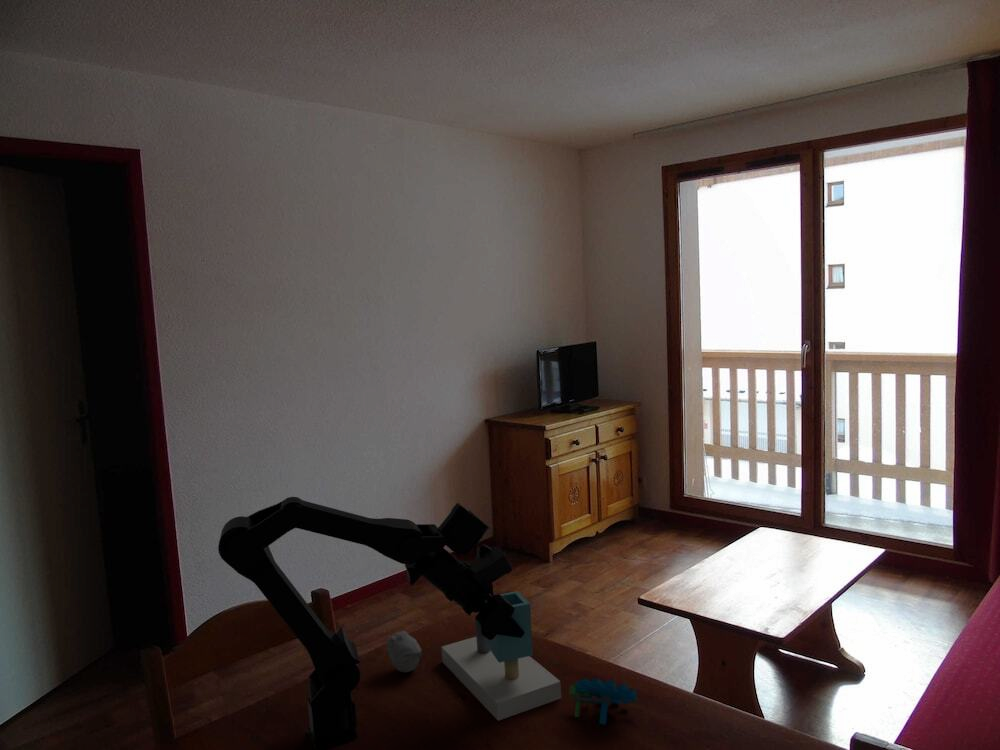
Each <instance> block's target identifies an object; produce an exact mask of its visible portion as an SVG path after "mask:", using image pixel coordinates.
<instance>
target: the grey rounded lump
mask: <svg viewBox="0 0 1000 750" xmlns="http://www.w3.org/2000/svg"><path fill="white" fill-rule="evenodd" d="M420 646H421V645H420V644H419V643H418V641H417V640H416V639H415V638H414V637H413V636H411V635H410V634H408V632H407V631H406V630H401V631H399V632H396V633H394V634H393V635H391V636H390V637H389V638H387V641H386V646H385V650H386V653H387V655H388V659H389V660H390V661H391V664H392V666H393V667H394V668H395V669H396V670H397V671H398V672H401V673H410V672H412V671H413V670H414V669H416V667H417V666H418V664H419V663H420V662H419V660H420V658H421V657H422V648H421V647H420Z"/></svg>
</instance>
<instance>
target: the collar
mask: <svg viewBox="0 0 1000 750" xmlns="http://www.w3.org/2000/svg"><path fill="white" fill-rule="evenodd" d="M500 595H501V596H503V597H504V598H505V599H507V600H508V602H509V603H510V604H511V605H512V606H513V607H514V608H515V609H514V613H513V614H512V615H511V617H512V618H513V619H514V620H515V621H516V623H517V624H518V625H519V626H520V627H521V629H522V630H523V631H524V632H525V634H524V635H523V636H522V637H521V638H518V637H511V636H504V635H496V636H495V637H494V639H492V640H489V639H488V648H489V649H490V650H491V652H492V653H493V655H494V656H495V658H496V659H497V661H498V662H499V663H500V662H505V661H509V660H514V659H518V658H523V657H528V656H530V657H531V656H534V655H533V654H534V653H533V635H532V633H533V632H532V616H531V615H532V614H531V613H532V612H531V604H530V602H529V601H528V600H527V598H525V597H524V596H523V594H522V593H520V592H519V591H518V590H516V591H510V592H506V593H501V594H500ZM486 601H487V600H486ZM487 602H488V601H487Z"/></svg>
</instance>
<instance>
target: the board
mask: <svg viewBox="0 0 1000 750" xmlns="http://www.w3.org/2000/svg"><path fill="white" fill-rule="evenodd" d="M441 658H442V659H441V661H442V663H443V664H444V665H445V667H447V668H448V669H449V671H450V672H451V673H452V674H454V676H455V677H456V678H457V679H458V680H459V681H460V683H462V685H464V686H465V688H467V690H469V692H470V693H471V694H472V695H473V696H474V697H475V698H476V699H477V701H479V702H480V703H481V704H482V705H483V707H484V708H485V709H486V710H487V711H488V712H489V713H490V714H491V715H492V716H493V717H494V718H495V719H496V720H497V721H498V722H499V721H501V720H504V719H508V718H510V717H512V716H515V715H518V714H521V713H524V712H527V711H530V710H533V709H535V708H539V707H541V706H543V705H546V704H549V703H553V702H555V701H557V700H561V699H562V687H561V681H560V680H559V679H558V678H557V677H556V676H555V675H553V674H552V673H551V672H549V671H548V670H547V669H546V668H545V667H544V666H542V665H541V664H540V663H539V662H537V661H536V660H535V659H534V658H532V657H531V656H528V657H523V658H518V659H514V660H509V661H505V662H500V663H499V662H498V661H497V659H496V658H495V656H494V655H493V653H492V652H491V650H490V649H489V648H488V639H487V638H486V637H485V636H483V635H482V634H481V633H480V631H479V630H478V628H477V627H476V626H475V636H473V637H469V638H466V639H463V640H460V641H457V642H452V643H448V644H445V645H443V646H441Z"/></svg>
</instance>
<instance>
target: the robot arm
mask: <svg viewBox="0 0 1000 750" xmlns="http://www.w3.org/2000/svg"><path fill="white" fill-rule="evenodd" d="M294 529H299V530H304V531H307V532H311V533H313V534H314V533H316V534H319V535H324V536H327V537H330V538H331V537H332V538H336V539H340V540H343V541H347V542H351V543H355V544H358V545H362V546H366V547H368V548H370V549H373V550H374V551H376V552H377V553H379V554H381V555H383V556H384V557H386V558H389V559H391V560H393V561H395V562H398V563H400V564H402V565H404V568H405V570H406V575H405V577H406V579H407V581H408V582H409V584H410V585H411V586H414V585H415V584H416V583H417V581H418V580H419V579H420V578H421V577H422V578H423V579H424V580H426V581H427V582H428V583H430V584H431V585H432V586H433V587H434V588H435V589H437V590H439V591H440V592H441V593H442V594H443V595H444V596H445V598H446V599H447V600H448V601H450V602H454V603H455V604H456V605H458V606H460V607H461V609H462V610H463V611H464V613H465V614H467V615H468V616H471V615H472V613H475V614H476V616H475V618H474V625H475V628H476V627H477V628H478V630H479V631H480V633H481V634H482V635H483V636H485V637H486V638H487V639H489V640H492V639H494V637H495V636H496V635H504V636H511V637H518V638H521V637H522V636H523V635H524V634H525V632H524V631H523V630H522V629H521V627H520V626H519V625H518V624H517V623H516V621H515V620H514V619H513V618H512V617H511V615H512V614H513V613H514V609H515V608H514V607H513V606H512V605H511V604H510V603H509V602H508V600H507V599H505V598H504V597H503V596H501V595H500V594H496V595H494V585H493V583H494V582H496V581H497V580H499V579H500V578H502V577H503V576H505V575H508V574H510V573H511V572H512V571H513V568H514V567H513V565H512V563H511V562H510V560H509V558H508V557H507V555H506V553H505V551H503V549H501V548H500V547H499V546H496V545H495V546H494V545H493V546H492V548H491V547H489V545H487V544H485V543H482V544H480V545H479V546H477V545H478V544H479V542H480V541H481V540H482V538H483V537H484V536H485V535H486V534H487V532H488V531H489V530H490V529H491V528H490V526H489V525H488V524H487V523H485V522H484V521H483V520H482V519H481V518H480V517H479V516H478V515H476V514H475V513H474V512H472V511H471V510H468V509H467V508H466V507H465V506H463V505H461V504H460V503H459V502H456V504H455V505H454V506H453V508H452V509H451V511H450V513H449V514H448V515H447V516H446V518H445V519H444V520H443V521H442V522H441V524H440V525H439V526H437V525H436V524H435V523H432V524H431V523H428V524H427V523H425V524H421V523H420V524H419V523H418V524H417V523H415V522H414V521H412V520H410V519H406V518H395V517H394V518H393V517H385V518H373V517H372V518H371V517H367V516H363V515H360V514H355V513H352V512H348V511H345V510H340V509H337V508H334V507H329V506H326V505H322V504H317V503H314V502H311V501H307V500H303V499H302V498H300V497H299V496H290V497H287V498H285V499H283V500H282V501H280V502H278V503H276V504H273V505H270V506H268V507H265V508H262V509H260V510H257V511H256V512H254V513H252V514H250V515H248V516H243V515H242V516H236V517H233V518H231V519H229V520H228V521H227V522H226V523H225V524H224V525H223V527H222V529H221V533H220V537H219V541H218V549H217V550H218V554H219V556H220V558H221V559H222V561H224V562H225V563H226V564H227V565H228V566H230V567H231V569H233V570H234V572H236V573H237V574H238V575H241V576H242V577H244V578H246V580H247V579H248V580H249V581H250V582H252V583H253V584H254V585H255V586H256V587H257V588H258V590H259V591H260V592H261V593H262V594H263V596H264V597H265V598H266V600H267V601H268V602H269V603H270V605H271V606H272V607H273V609H274V610H275V611H276V612H277V614H278V615H279V616H280V618H281V619H282V620H283V622H284V623H285V624H286V625H287V626H288V628H289V629H290V630H291V632H292V633H293V634H294V635H295V637H296V638H297V639H298V641H299V642H300V643H301V645H302V646H303V647H304V648H305V649H306V651H307V652H308V655H309V657H310V660H311V662H312V664H313V667H314V669H313V671H312V672H311V673H310V674H309V675H308V677H307V679H308V688H309V690H308V691H309V698H307V708H308V720H309V727H307V732H308V735H309V737H310V739H311V742H312V744H313V745H314V749H315V750H324V749H327V748H331V747H333V746H336V745H339V744H342V743H345V742H348V741H351V740H354V739H357V738H358V733H357V731H356V728H357V727H358V722H357V709H356V702H355V701H354V699H353V697H352V694H351V693H352V691H354V689H355V688H357V686H358V685H359V683H360V680H361V669H360V666H359V664H361V662H360V658H359V654H358V649H357V646H356V643H355V642H353V641H351V639H349V638H348V637H347V634H346V633H345V630H344V628H343V627H340V628H339V629H338V630H337V631H336V632H333V631H332V630H330V629H328V628H327V626H325V624H324V623H323V622H322V621H321V619H320V618H319V617H318V616H317V614H316V613H315V611H314V610H313V609H312V607H311V606H310V605H309V604H308V603H307V601H306V599H305V598H303V596H302V595H301V594H300V592H299V591H298V590H297V588H296V587H295V586H294V584H293V583H292V582H291V581H290V579H289V577H287V576H286V574H285V573H284V571H283V570H282V569H281V567H280V566H279V565H278V563H277V562H276V560H275V558H274V555H273V553H272V551H271V549H270V545H272V544H274V543H275V542H276V541H278V540H279V539H280V538H282V537H283V536H284V535H287V533H288V532H290V531H292V530H294ZM445 546H446V547H448V548H449V549H450V550H451V551H452V552H453V553H455V554H456V555H458V556H461V555H463V556H466V555H470V553H472V551H473V550H474V548H475V547H476V546H477V547H476V557H475V558H474V562H472V563H468V562H467V561H466V560H464V561H463V560H459V559H458V558H457V557H456V556H454V555H453V554H452V553H450V552H449V551H448V550H447V549H445ZM486 600H487V601H488V602H487V601H486Z"/></svg>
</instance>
